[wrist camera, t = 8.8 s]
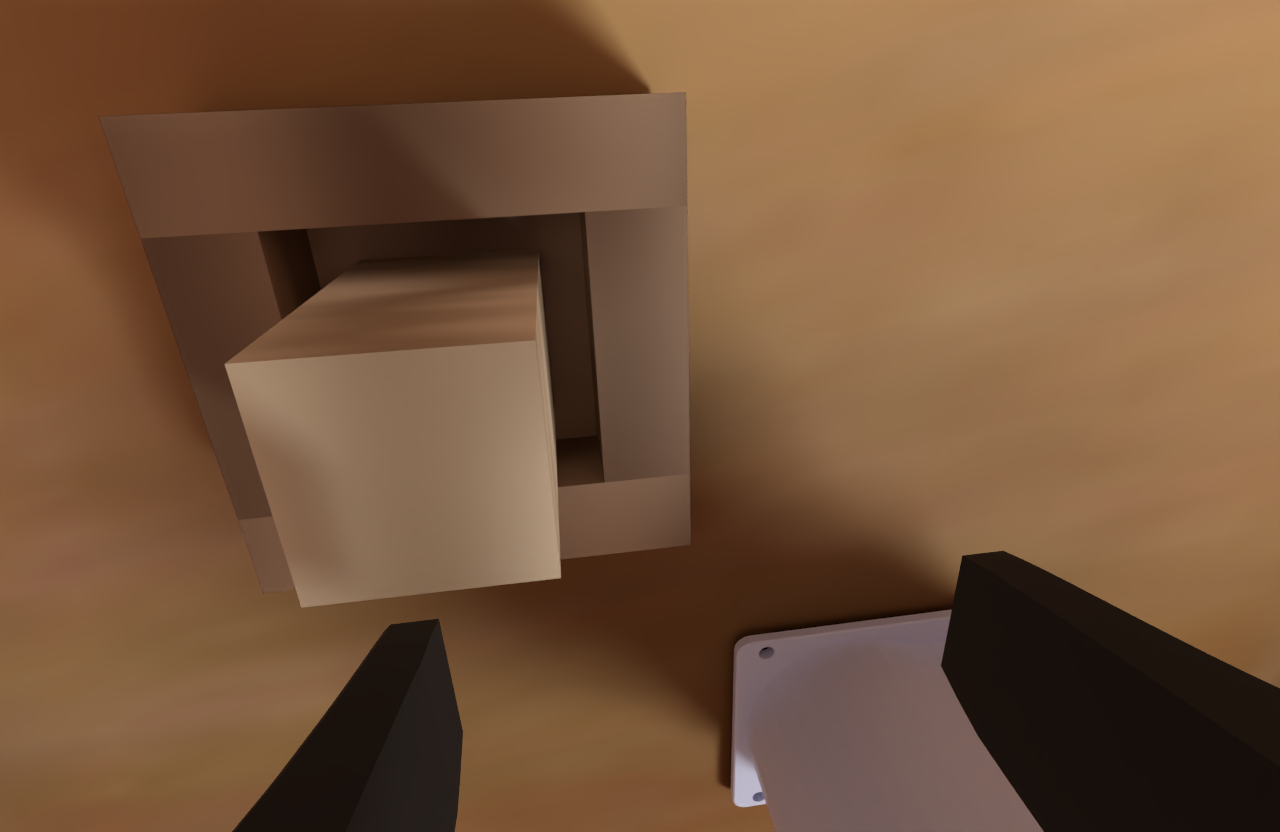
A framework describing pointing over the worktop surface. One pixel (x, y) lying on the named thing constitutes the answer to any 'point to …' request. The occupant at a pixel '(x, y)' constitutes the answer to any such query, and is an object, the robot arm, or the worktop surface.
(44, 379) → the worktop surface
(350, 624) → the worktop surface
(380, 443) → the birch post
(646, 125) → the walnut holder
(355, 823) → the robot arm
